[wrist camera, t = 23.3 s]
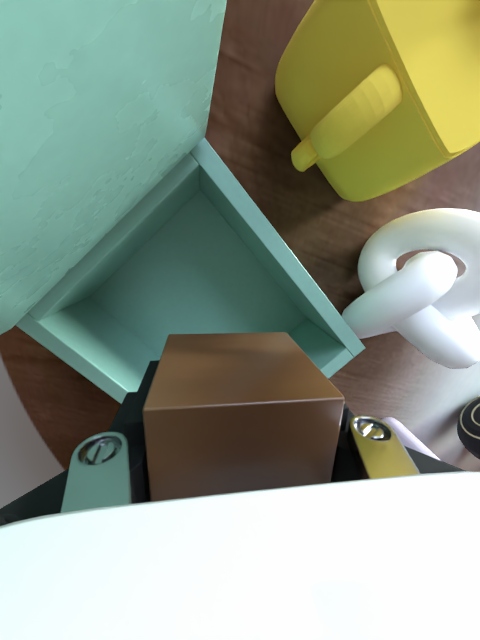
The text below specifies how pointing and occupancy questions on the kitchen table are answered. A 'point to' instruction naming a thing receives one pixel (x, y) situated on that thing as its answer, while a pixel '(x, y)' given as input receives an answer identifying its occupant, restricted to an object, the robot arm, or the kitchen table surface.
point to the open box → (184, 283)
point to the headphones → (470, 427)
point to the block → (238, 416)
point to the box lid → (91, 123)
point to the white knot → (423, 285)
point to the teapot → (382, 90)
